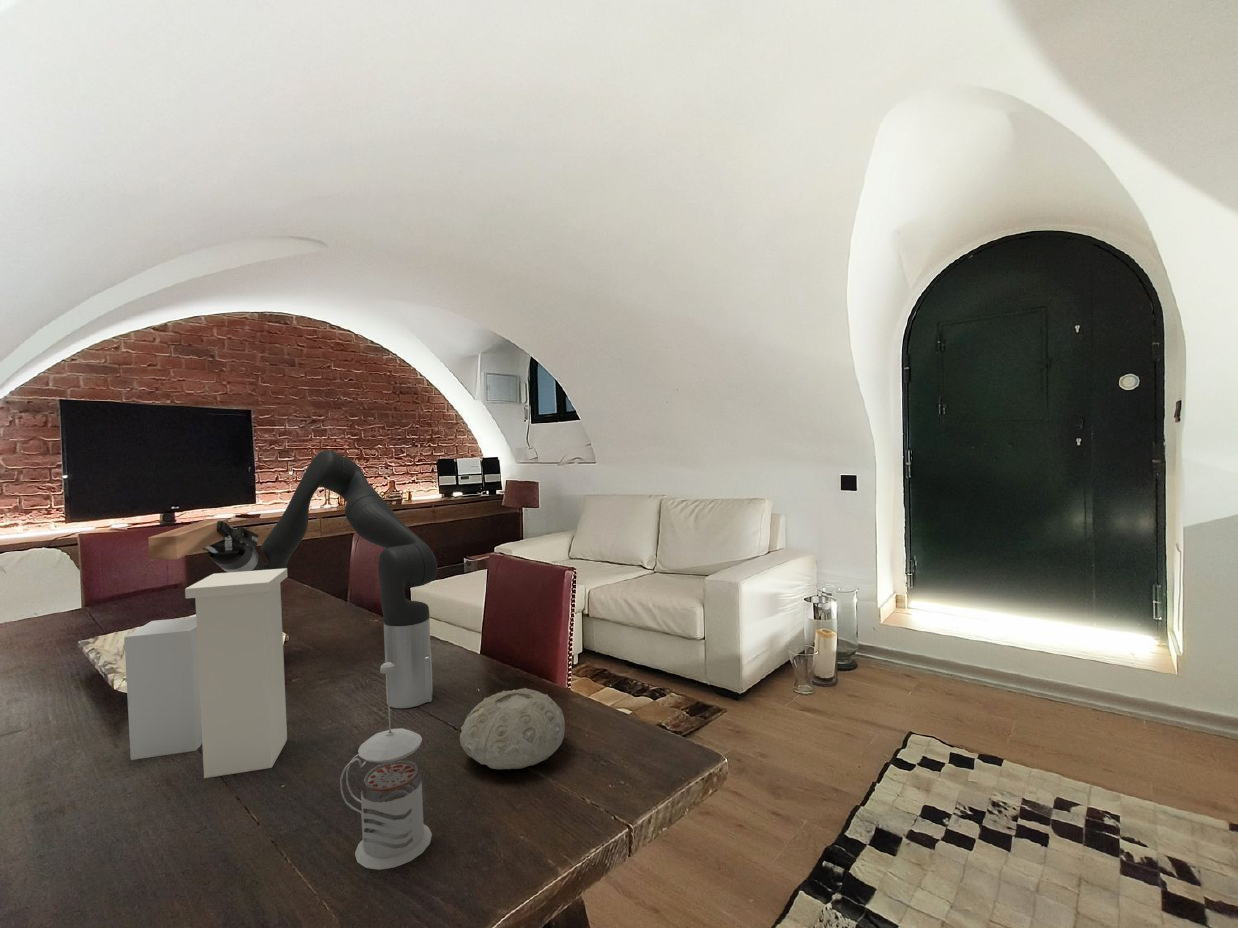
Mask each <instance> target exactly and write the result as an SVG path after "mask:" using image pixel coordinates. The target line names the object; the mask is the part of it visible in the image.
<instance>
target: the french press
mask: <svg viewBox="0 0 1238 928" xmlns="http://www.w3.org/2000/svg"><path fill="white" fill-rule="evenodd" d="M394 671H395V666H394V664H392V663H391V662H386V663H385V662H383V663H382V664H381V665H380V668H379V673H380V674H384V675H386V674H387V687H388V705H387V709H388V729H387V730H383V731H380V732H376V733H375V734H374V735H372V736H371V737H369V738H368V739H366V740H365V741H364V742H363V743H361V744H360V746H359V748H358V750H357V752H358V754H356V755H355V756H353V758H352V759H351V760H350V761H349V762H348V763H347V764H346V765H345V767H344V768H343V770H342V772H341V774H340V779H339V789H340V794H341V797H342V799H343V801H344V803H345V804H346V805H347V806H348V807H349V808H350V809H351V810H353V811H355V812H357V813H359V814H360V817H361V818H360V819H361V820H360V821H361V833H362V840H361V841H360V842H358V845H357V847H356V849H355V853H354V855H355V858H356V862H357V863H358V864H360V865H361V866H362V867H364V868H366V869H372V870H386V869H391V868H392V869H393V868H397V867H399V866H402V865H404V864H407V863H410V862H412V861H414V859H415V858H418V856H421V855H422V854H423V853H424V851H425V850H426V849H427V848H428V846H429V845H430V844H431V841H432V836H433V833H432V832H431V829H430V828H429V826H427V825H426V824H424V806H423V805H424V804H423V803H424V802H423V782H422V776H421V774H420V767H419V765H418V763H416V762H413V761H412V760H406V759H405V758H406V757H408V756H410V755H413V754H414V753H415V752H416V751H417V750H418V749H419V748H420V747H421V744H422V741H423V738H422V736H421V735H420V734H419V733H417V732H414V731H412V730H409V729H407V728H403V727H401V728H392V727H391V725H392V723H391V707H390V695H389V673H392V672H394ZM358 757H360V758H361V759H362V760H364V762H363V763H362V760H361V759H360V758H358ZM403 759H405V760H403ZM356 761H358V764H359V768H363V767H364V766H365V765H366V764H367V762H368V763H378V765H377V766H374V767H373V768H372V769H370V770H368V772H367V773H366V774H364V777H363V779H362V783H363V786H364V788H365V797H364V788H362V789H361V791H360V799H361V800H360V799H359V798H358V797H357V796H355V795H354V793H353V792H352V790H351V787H350V784H349V770H350V767H351V765H352V764H353V763H354V762H356ZM344 774H346V775H345V778H346V779H345V783H346V787H347V790H348V791H349V794H350V797H352V798H353V799H354V800H355V801H356V802H358V803H360V804H361V809H358V808H357V807H354V806H353V805H352V804H351V803H349V801H348V800H347V798H346V797H345V795H344V794H345V793H344V790H343V778H344ZM410 783H411V784H413V785H414V786H415V787H416V788H414V787H413V786H411V785H410ZM403 787H404V788H405V789H408V790H409V791H410V793H409V792H407V791H406V790H398V789H401V788H403ZM385 792H389V793H386V794H385V795H384V796H382V797H381V795H383V794H384V793H385ZM394 796H403V797H400V798H395V799H393V800H389V801H387V800H388V799H390V798H392V797H394ZM365 810H366V812H365ZM410 810H411V811H410ZM382 813H383V814H382ZM365 820H366V821H365ZM366 829H367V831H366Z"/></svg>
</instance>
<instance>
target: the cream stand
mask: <svg viewBox="0 0 1238 928" xmlns="http://www.w3.org/2000/svg"><path fill="white" fill-rule="evenodd" d="M288 577H289V576H288V568H287V567H286V568H284V569H271V570H257V571H243V572H230V573H228V572H220V573H219V572H218V573H212V574H210V575H208V576H206V577H204V578H202V579H201V580H198V581H196V582H195V583H193V584H191V585H190V586H188V587H186V588H185V589H184V594H185V595H184V596H185V597H184V598H185V599H195V617H196V623H197V643H198V664H199V684H200V705H201V725H202V744H201V746H202V760H203V761H202V763H203V765H202V766H203V779H208V778H215V777H221V776H225V775H226V776H227V775H233V774H240V773H246V772H252V771H259V770H265V769H272V768H273V766H274V764H275V762H276V761H277V759H278V757H279V755H280V754H281V752H282V750H283V748H284V746H285V745H286V743H287V741H288V730H287V706H286V685H285V682H286V681H285V679H286V678H285V661H284V641H283V640H284V639H283V638H284V637H283V615H282V594H281V590H282V587H281V583H282V582H283V581H284V580H285V579H287V578H288Z"/></svg>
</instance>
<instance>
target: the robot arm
mask: <svg viewBox="0 0 1238 928" xmlns="http://www.w3.org/2000/svg"><path fill="white" fill-rule="evenodd" d="M320 487H321V488H323V489H325V490H327V491H330V492H333V493H335V494H337V495H338V496H340V497H341V498H342V499H343V500H344V501H345V502H346V504H345V508H344V513H345V518H346V520H347V522H348V523H349V525H350V526H351V528H353V530H354V532H355V533H357V535H358V536H359V537H361V538H362V539H364V540H366V541H368V542H370V543H372V544H374V545H377V546H379V547H382V548H384V549H382V550H381V552H380V554H379V557H378V562H377V571H378V581H379V592H380V593H379V594H380V605H381V606H380V607H381V610H382V616H383V636H384V637H383V638H384V639H383V640H384V644H383V645H384V663H386V662H391V663H392V664H394V666H395V671H394V672H392V673H389V695H390V708H393V709H394V708H395V709H408V708H414V707H418V706H421V705H423V704H426V703H431V702H432V701H433V666H432V663H433V661H432V649H431V628H430V627H431V626H430V625H431V624H430V621H431V620H430V608H429V605H428V604H427V603H425V602H422V601H419V600H417V601H416V600H410V599H408V598H406V593H405V590H407V589H411V588H412V589H413V588H417V587H421V586H425V585H428V584H430V583H431V582H433V581H434V580H435V578H436V577H437V574H438V562H437V558H436V556H435V554H434V552H433V550H432V549H431V548H430V546H429V545H428V544H427V543H426V542H425V541H424V540H422V539H421V538H420V537H419V536H417V534H416V533H414V532H413V531H412V530H411V529H410V528H409V527H408V526H407V525H406V524H405V523H404V522H403V521H402V519H401V518H400V517H399V516H398V515H397V513H395V512H394V511H393V509H392V508H391V507H390V505H389V504H388V502H386V501H385V499H384V498H383V497H382V496H381V495H380V494H379V492H377V490H376V489H375V488H374V487H372V485H371V484H370V483H369V481H368V479H367V478H366V476H365V475H364V473H363V471H362V469H361V468H360V466H359V465H358V464H357V463H356V462H355V461H353V460H352V459H349V458H347V457H345V456H343V455H341V454H339V453H337V452H335V450H331V449H324V450H322V451H319V452H318V453H317V454H316V455H315V456H314V457H313V458H312V460H311V461H310V463H309V465H308V466H307V468H306V469H305V472H304V473H303V476H302V477H301V479H300V481H299V483H298V484H297V487H296V488H295V490H294V492H293V495H292V497H291V499H290V500H289V502H288V504H287V506H286V508H285V510H284V511H283V514H282V515H281V517H280V519H279V520H278V521H277V523H276V524H275V526H274V527H273V528H272V529H271V531H270V532H269V533H268V535H267V537H266V538H265V539H264V541H263V542H262V543H261V547H260V549H261V552H262V553H263V554H264V556H265V557H266V559H267V560H268V561H267V562H266V563H265V561H264V560H263V558H262V556H261V555H260V553H258V552H257V550H256V547H257V546H258V542H259V534H257V533H255V532H253V531H251V530H250V529H247V528H245V527H243V526H237V527H236V528H234V527H233V526H232V525H229V523H228V524H227V523H224V522H223V521H217V522H218V523H217V531H218V532H219V533H220V534H221V535H222V536H223V537H225V539H224V540H221V541H219V542H217V543H214V544H212V545H210V546H207V547H205V548H203V549H201V550H203V551H205V552H207V554H208V556H209V558H210V559H211V560H212V562H214V563H215V564H216V565H217V566H219V568H221V569H222V570H224V571H225V573H230V572H243V571H257V570H271V569H284V568H287V565H288V563H289V561H290V557H291V556H292V555H293V554H294V552H295V550H296V549H297V548H298V546H299V544H300V543H301V542H302V540H303V539H304V537H305V536H306V533H307V530H308V526H309V513H310V506H311V505H310V504H311V502H312V501H311V500H312V498H313V496H314V494H315V493H316V491H317V490H318V489H319V488H320ZM194 523H197V521H191V522H190V524H194ZM190 524H188V525H190ZM385 689H386V690H385V691H386V692H385V696H386V705H387V706H388V687H387V674H385Z"/></svg>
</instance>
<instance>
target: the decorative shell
mask: <svg viewBox="0 0 1238 928" xmlns="http://www.w3.org/2000/svg"><path fill="white" fill-rule="evenodd" d="M460 730H461V732H460V735H459V742H460V746H461V747H462V749H463V751H464V752H465V753H466V755H467V756H469V757H470V758H472V759H473V760H475V761H476V762H478V763H479V764H480V765H486V766H487V767H488V768H490V769H493V770H512V769H513V770H515V769H516V770H518V769H519V770H520V769H524V768H526V767H531V766H535V765H537V764H539V763H541V762H543V761H546V760H547V759H549V757H551V756H552V755H553V754H554V753H555V752H556V751H557V750H558V749H559V747H560V746H561V745H562V743H563V740H564V738H565V731H566V726H565V716H564V713H563V710H562V708H560V706H559V705H558V703H556V701H554V700H553V698H552V697H550V696H549V695H548V694H547V693H546V694H544V693H542V692H540V691H537V690H535V689H529V688H527V687H524V688H519V689H512V690H502V691H500V692H497V693H495V694H491V695H490V696H488V697H484V698H483V700H482V701H480V702H479V703H478V704H477V705H476V706H474V707H473V708H472V710H470V712H469V713H468V714H467V715H466V718H465V719H464V722H463V725H462V726H461V727H460Z"/></svg>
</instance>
